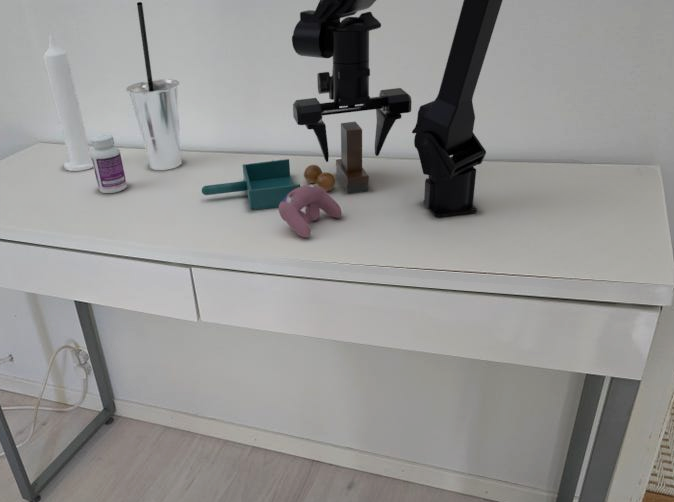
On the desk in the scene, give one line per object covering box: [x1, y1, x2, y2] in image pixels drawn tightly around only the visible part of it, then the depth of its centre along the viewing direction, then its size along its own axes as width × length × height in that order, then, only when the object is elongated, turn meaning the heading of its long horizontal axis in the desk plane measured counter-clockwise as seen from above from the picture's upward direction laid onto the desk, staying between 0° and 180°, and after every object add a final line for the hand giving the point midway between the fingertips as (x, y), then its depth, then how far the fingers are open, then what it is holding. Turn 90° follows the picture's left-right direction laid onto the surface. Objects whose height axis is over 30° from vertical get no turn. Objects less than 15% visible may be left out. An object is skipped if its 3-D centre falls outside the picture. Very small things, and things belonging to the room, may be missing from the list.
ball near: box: [315, 171, 336, 193], centre depth 114 cm, size 3×3×3 cm
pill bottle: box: [90, 133, 128, 194], centre depth 123 cm, size 5×5×10 cm
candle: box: [42, 34, 94, 172], centre depth 132 cm, size 7×7×25 cm
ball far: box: [303, 164, 323, 185], centre depth 118 cm, size 3×3×3 cm
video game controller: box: [278, 183, 342, 239], centre depth 102 cm, size 10×5×7 cm, turn 141°
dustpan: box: [201, 158, 301, 211], centre depth 115 cm, size 16×14×3 cm
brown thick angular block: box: [335, 121, 370, 194], centre depth 114 cm, size 4×10×10 cm, turn 5°
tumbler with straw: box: [125, 1, 183, 171], centre depth 126 cm, size 11×11×30 cm
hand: (351, 158), depth 114 cm, fingers open, 8 cm apart
